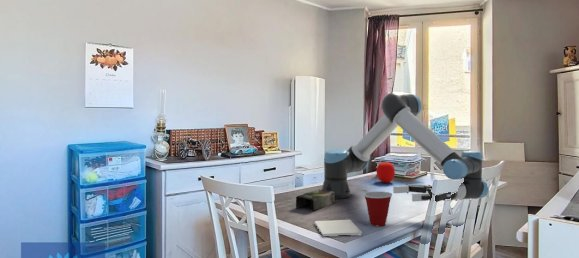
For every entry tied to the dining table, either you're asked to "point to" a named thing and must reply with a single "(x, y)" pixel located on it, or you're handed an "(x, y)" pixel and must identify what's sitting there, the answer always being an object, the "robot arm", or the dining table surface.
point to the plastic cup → (378, 207)
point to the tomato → (385, 172)
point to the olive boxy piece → (316, 199)
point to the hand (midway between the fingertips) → (402, 193)
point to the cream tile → (337, 228)
